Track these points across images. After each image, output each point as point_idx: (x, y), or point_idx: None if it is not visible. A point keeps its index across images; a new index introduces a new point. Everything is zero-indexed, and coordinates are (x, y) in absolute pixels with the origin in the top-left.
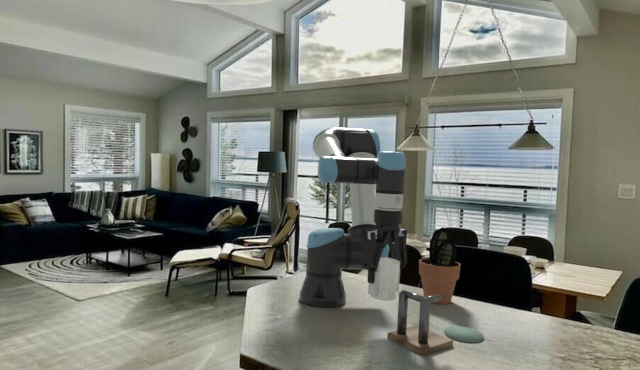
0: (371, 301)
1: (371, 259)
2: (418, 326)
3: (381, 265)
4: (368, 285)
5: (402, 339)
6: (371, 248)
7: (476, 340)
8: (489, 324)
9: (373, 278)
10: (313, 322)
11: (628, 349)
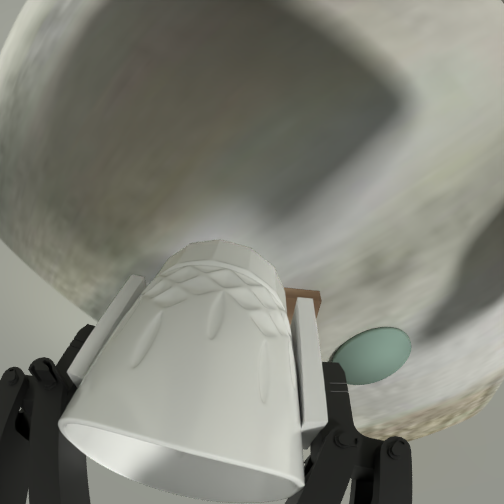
0: (445, 41)
1: (26, 449)
2: (317, 309)
3: (104, 454)
4: (112, 301)
5: None
6: (3, 495)
7: (349, 383)
8: (458, 347)
9: None
10: (100, 65)
11: (433, 431)
